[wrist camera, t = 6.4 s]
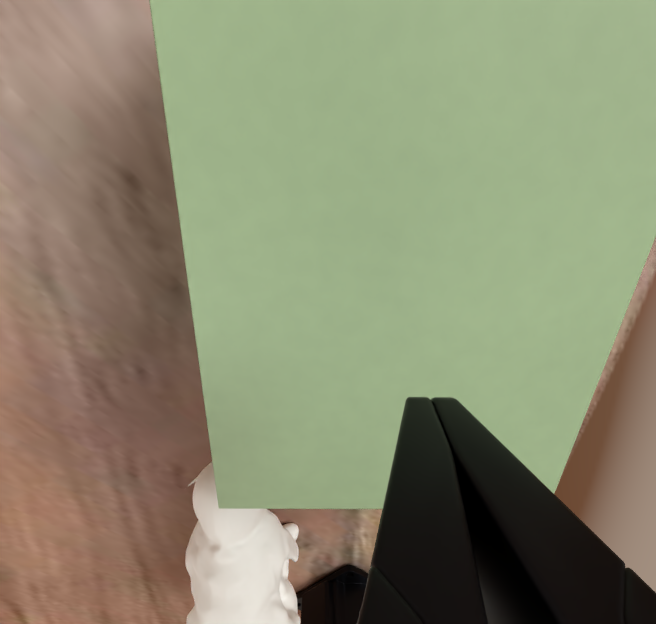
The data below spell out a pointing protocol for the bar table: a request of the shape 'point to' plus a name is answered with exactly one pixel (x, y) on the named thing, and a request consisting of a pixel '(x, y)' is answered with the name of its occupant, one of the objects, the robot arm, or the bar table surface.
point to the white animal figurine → (239, 562)
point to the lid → (403, 223)
